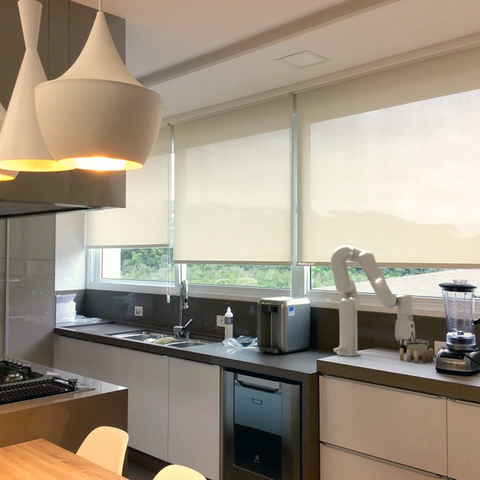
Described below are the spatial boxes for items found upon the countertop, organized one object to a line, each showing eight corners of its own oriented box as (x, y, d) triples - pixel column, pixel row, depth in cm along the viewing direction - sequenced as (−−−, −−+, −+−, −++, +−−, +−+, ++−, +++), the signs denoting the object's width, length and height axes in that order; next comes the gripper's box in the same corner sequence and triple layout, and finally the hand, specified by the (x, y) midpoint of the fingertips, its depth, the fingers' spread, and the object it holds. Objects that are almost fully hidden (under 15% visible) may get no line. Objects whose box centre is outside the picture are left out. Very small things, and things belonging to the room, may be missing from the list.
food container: (423, 357, 294) (424, 338, 293) (428, 360, 288) (429, 341, 287) (401, 357, 293) (401, 338, 292) (405, 360, 287) (406, 341, 286)
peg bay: (420, 364, 277) (420, 352, 277) (399, 360, 288) (399, 348, 288) (438, 361, 285) (438, 349, 285) (416, 357, 296) (416, 346, 296)
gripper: (420, 318, 291) (420, 353, 290) (398, 316, 303) (397, 349, 303) (411, 319, 287) (411, 355, 286) (388, 316, 299) (388, 350, 298)
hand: (404, 352), depth 294 cm, fingers closed
